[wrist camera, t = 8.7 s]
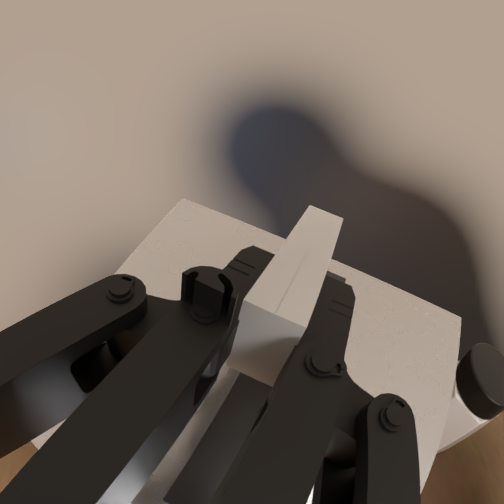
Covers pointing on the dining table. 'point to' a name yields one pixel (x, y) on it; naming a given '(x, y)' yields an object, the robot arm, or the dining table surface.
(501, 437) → the dining table surface
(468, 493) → the dining table surface
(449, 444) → the jar
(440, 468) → the dining table surface
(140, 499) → the lid
